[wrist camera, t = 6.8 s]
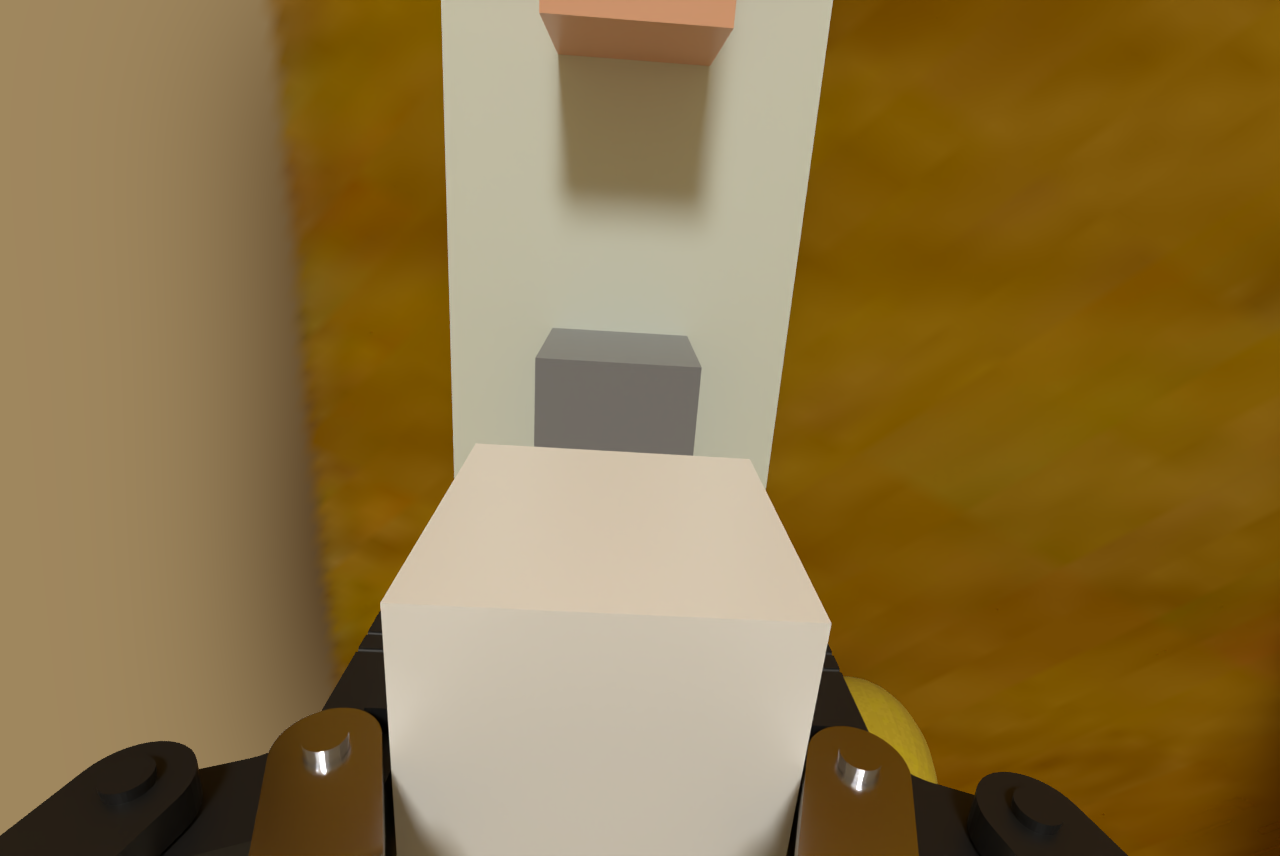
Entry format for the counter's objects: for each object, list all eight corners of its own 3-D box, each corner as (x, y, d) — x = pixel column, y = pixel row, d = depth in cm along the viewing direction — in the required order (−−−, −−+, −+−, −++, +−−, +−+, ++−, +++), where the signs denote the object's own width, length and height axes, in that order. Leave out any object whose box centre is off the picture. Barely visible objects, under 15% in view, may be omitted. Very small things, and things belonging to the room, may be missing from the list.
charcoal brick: (672, 498, 26) (682, 562, 21) (549, 492, 26) (532, 555, 21) (686, 335, 24) (701, 367, 19) (552, 327, 23) (535, 357, 19)
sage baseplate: (755, 507, 27) (761, 521, 26) (462, 493, 27) (455, 506, 26) (848, -185, 20) (861, -209, 19) (445, -223, 19) (433, -250, 18)
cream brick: (711, 744, 14) (755, 1012, 9) (478, 735, 14) (407, 1006, 9) (750, 459, 12) (831, 623, 7) (476, 443, 11) (380, 602, 7)
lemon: (808, 621, 29) (873, 767, 22) (911, 667, 30) (1008, 824, 22) (745, 711, 31) (785, 878, 23) (845, 753, 32) (914, 927, 24)
